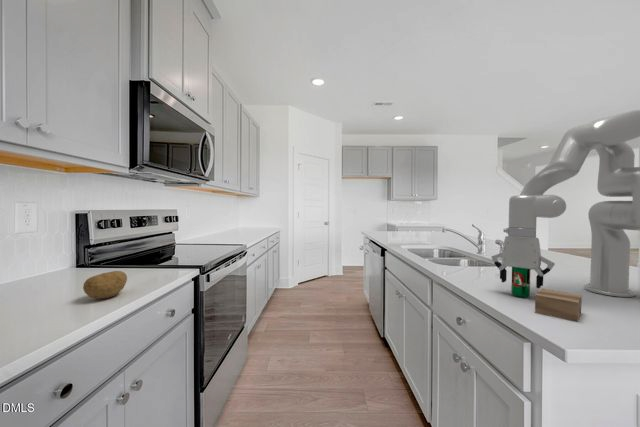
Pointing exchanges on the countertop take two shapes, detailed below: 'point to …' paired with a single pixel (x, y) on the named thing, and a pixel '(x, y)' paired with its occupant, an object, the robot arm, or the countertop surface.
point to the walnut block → (558, 304)
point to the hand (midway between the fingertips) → (520, 284)
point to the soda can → (520, 282)
